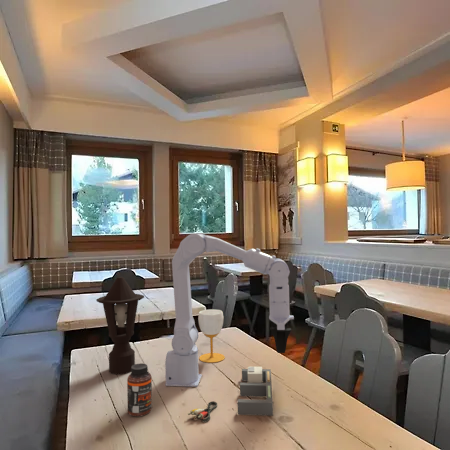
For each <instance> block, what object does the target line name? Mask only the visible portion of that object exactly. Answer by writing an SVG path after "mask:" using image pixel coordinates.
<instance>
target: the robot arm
mask: <svg viewBox="0 0 450 450" xmlns="http://www.w3.org/2000/svg"><path fill="white" fill-rule="evenodd" d="M213 252H215V253H216V252H219V253H221V254H224V255H227V256H229V257H232V258H234V259H237V260H239V261H242V263H243V265H244V267H245V268H248V269H250V270H252V271H254V272H256V273H260V274H262V275H268V276H269V285H268V293H269V294H268V295H269V296H268V298H269V300H268V302H269V315H268V319H269V323H270V324H271V326H270V328H269V329H270V332H271V334H272V336H273V339H274V345H275V348H276V352H277V354H285V353H286V350H287V343H288V339H289V336H290V334H291V331H292V328H291V327H288V324H289V323H290V321H291V320H295V317H294V315H291V314H290V286H289V276H290V274H291V273H290V272H291V271H290V268H289V266H288V264H287V262H285V261H284V260H283V259H282V258H277V256H276V255H273V254H272V255H270V254H267V253H264V252H262V251H261V248H258V247H256V249H255V248H250V249H248V250H246V249H243V248H241V247H239V246H236V245H235V244H231V243H230V242H227V241H225V240H223V239H221V238H218V237H216V236H211V235H207V234H204V233H201V232H200V233H199V232H197V233H190V234H188V235H187V236H186V237H184V238H183V239H182V240H181V241H180V243H179V246H178V247H177V249H176V251H175V254H174V255H173V257H172V258H171V260H172V261H171V267H172V268H171V269H172V283H173V296H174V297H173V298H174V312H175V314H174V315H175V323H174V329H173V337H172V340H171V347H172V350H168V351H167V352H166V355H165V360H164V361H165V362H164V363H165V364H164V365H165V367H164V368H165V386H166V387H192V388H193V387H198V386H199V384H200V381H201V379H202V376H203V375H202V373H199V349H198V346H197V345H196V342H197V341H198V340H199V331H198V329H197V327H196V324H195V323H196V322H195V319H194V317H193V306H192V305H193V302H192V289H191V287H192V286H191V276H190V275H191V274H190V264H192V263H193V261H194V260H195V259H196V258H198V257H199V256H201V255H203V254H204V253H213Z"/></svg>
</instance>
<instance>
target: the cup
mask: <svg viewBox="0 0 450 450" xmlns="http://www.w3.org/2000/svg"><path fill="white" fill-rule="evenodd" d="M197 319H198V320H197V321H198V326H199V329H200V332H201V333H202V335H204V336H205V337H206V338H209V340H210V341H209V342H210V352H209V353H207V352H206V353H204V354H200V356H198V361H200V362H203V363H208V364H215V363H220V362H222V361H224V360H225V358H226V357H225V355H224V354H222V353H218V352H214V345H213V344H214V343H213V342H214V341H213V340H214V338H215V337H217V336H218V335H219V334H220V333H221V331H222V329H223V325H224V313H223V311H222V310H221V309H213V308H212V309H211V308H210V309H203V310H200V311H199V312H198V318H197Z"/></svg>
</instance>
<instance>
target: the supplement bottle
mask: <svg viewBox="0 0 450 450" xmlns="http://www.w3.org/2000/svg"><path fill="white" fill-rule="evenodd" d="M148 369H149V368H148V364H147V363H142V362H141V363H135V365H133V366H132V367H131V372H130V374H129V375H128V377H127V380H126V381H127V383H126V385H127V386H126V387H127V390H126V391H127V413H128V414H129V415H130V416H132V417H142V416H146V415H148V414H149V413H150V412H151V411H152V409H153V405H152V403H153V397H152V396H153V394H152V393H153V392H152V391H153V388H152V387H153V385H152V383H153V382H152V374H151V373H150V372H149V371H148Z"/></svg>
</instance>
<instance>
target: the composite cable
mask: <svg viewBox="0 0 450 450" xmlns="http://www.w3.org/2000/svg"><path fill="white" fill-rule="evenodd" d="M213 405H214V406H213ZM211 406H212V407H211ZM217 407H218V403H217V402H216V401H210V402H208V404H207V408H205V409H204V408H194V409H191V410H190V412H188V413H187V415H188V416H190V415H192V416H194V419H193V420H194V421H196V420H199V419H201V422H203V423H207V422H208V421H210V419H211V413H212V412H213V411H214V410H215V409H216V408H217ZM206 416H207V417H206Z"/></svg>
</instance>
